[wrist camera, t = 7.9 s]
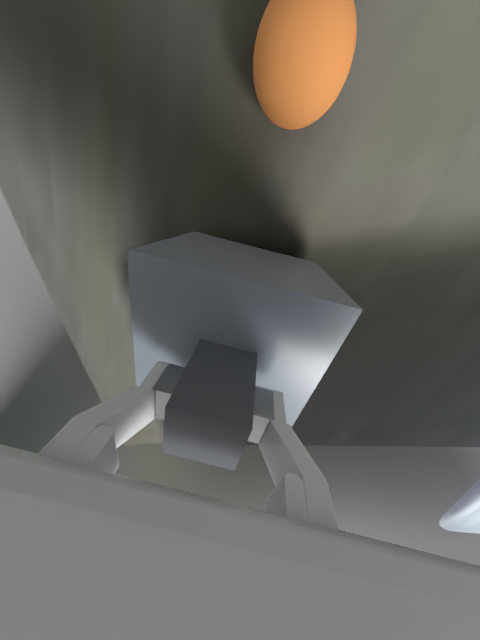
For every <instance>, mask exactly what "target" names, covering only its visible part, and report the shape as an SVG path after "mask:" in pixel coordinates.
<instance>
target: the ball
mask: <svg viewBox="0 0 480 640" xmlns="http://www.w3.org/2000/svg"><path fill="white" fill-rule="evenodd" d="M356 33H357V18H356V9H355V4H354V0H270V2H269V4H268V6H267V8H266V10H265V12H264V15H263V17H262V20H261V22H260V26H259V29H258V32H257V37H256V42H255V47H254V55H253V79H254V86H255V90H256V95H257V98H258V101H259V104H260V106H261V108H262V110H263V111H264V113H265V114H266V116H267V117H268V118H269V119H270V121H271V122H273V123H274V124H275V125H277V126H279V127H281V128H283V129H288V130H296V129H301V128H304V127H307V126H308V125H310V124H312V123H314V122H315V121H317V120H318V119H319V118H320V117H321V116H322V115H324V113H325V112H326V111H327V110H328V109H329V108H330V107H331V105H332V104H333V102H334V101H335V100H336V98H337V96H338V95H339V93H340V91H341V89H342V87H343V85H344V83H345V81H346V78H347V76H348V73H349V70H350V67H351V63H352V60H353V55H354V50H355V44H356Z"/></svg>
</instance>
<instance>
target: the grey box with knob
mask: <svg viewBox="0 0 480 640" xmlns="http://www.w3.org/2000/svg"><path fill="white" fill-rule="evenodd" d="M127 255H128V270H129V285H130V300H131V314H132V329H133V344H134V359H135V374H136V386H140V384H141V383H142V382H143V380H144V379H145V378H146V376H147V375H148V374H149V372H150V371H151V370H152V368H153V367H154V365H155V364H156V363H157V362H158V361H163V362H166V363H171V364H174V365H178V366H181V367H185V370H184V372H183V374H182V375H181V377H180V379H179V381H178V383H177V385H176V387H175V389H174V391H173V393H172V395H171V396H170V398H169V400H168V402H167V404H166V406H165V418H164V441H163V453H166V454H170V455H174V456H178V457H182V458H186V459H190V460H194V461H198V462H202V463H206V464H210V465H213V466H218V467H221V468H225V469H229V470H233V471H234V470H235V468H236V465H237V463H238V461H239V459H240V456H241V454H242V452H243V450H244V447H245V445H246V443H247V441H248V438H249V436H250V434H251V431H252V429H253V414H254V399H255V385H256V386H260V387H265V388H269V389H273V390H277V391H281V392H283V394H284V404H285V414H286V424H288V425H290V426H291V427H292V426H293V424H294V422H295V421H296V419H297V417H298V416H299V414H300V412H301V411H302V409H303V407H304V406H305V404H306V403H307V401H308V399H309V398H310V396H311V394H312V393H313V391H314V389H315V388H316V386H317V384H318V383H319V381H320V379H321V378H322V376H323V375H324V373H325V371H326V370H327V368H328V366H329V365H330V363H331V361H332V360H333V358H334V356H335V355H336V353H337V352H338V350H339V348H340V347H341V345H342V343H343V342H344V340H345V338H346V337H347V335H348V333H349V332H350V330H351V328H352V327H353V325H354V324H355V322H356V320H357V319H358V317H359V315H360V314H361V312H362V310H363V309H362V308H361V307H360V306H359V305H358V304H357V303H356V302H355V301H354V300H353V299H352V298H351V297H350V296H349V295H348V294H347V293H346V292H345V291H344V290H343V289H342V288H341V287H340V286H339V285H338V284H337V283H336V282H335V281H334V280H333V279H332V278H331V277H330V276H329V275H328V274H327V273H326V272H325V271H324V270H323V269H322V268H321V267H320V266H319V265H318V264H317V263H316V262H312V261H308V260H304V259H300V258H296V257H292V256H288V255H284V254H281V253H277V252H273V251H269V250H265V249H261V248H257V247H253V246H249V245H245V244H242V243H238V242H234V241H230V240H226V239H222V238H218V237H214V236H210V235H206V234H203V233H199V232H191V233H187V234H183V235H180V236H176V237H172V238H168V239H165V240H161V241H157V242H153V243H150V244H146V245H142V246H138V247H135V248H131V249H127Z"/></svg>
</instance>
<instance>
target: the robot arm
mask: <svg viewBox="0 0 480 640" xmlns="http://www.w3.org/2000/svg"><path fill="white" fill-rule="evenodd" d="M184 370H185V367H181V366H178V365H174V364H171V363H166V362H163V361H158V362H157V363H156V364H155V365H154V367H153V368H152V370H151V371H150V372H149V374H148V375H147V376H146V378H145V379H144V380H143V382H142V383H141V384H140V386H134V387H132V388H130V389H128V390H126V391H124V392H122V393H120V394H118V395H116V396H114V397H112V398H110V399H108V400H106V401H104V402H102V403H100V404H98V405H96V406H94V407H92V408H90V409H88V410H86V411H84V412H82V413H80V414H78V415H76V416H74V417H73V418H72V419H71V420H70V421H69V422H68V423H67V424H66V425H65V426H64V427H63V428H62V429H61V430H60V431H59V432H58V433H57V435H56V436H55V437H54V438H53V439H52V440H51V441H50V442H49V443H48V444H47V445H46V446H45V447H44V448H43V449H42V450H41V451H40V453H38V454H36V453H32V452H28V451H23V450H20V449H16V448H12V447H8V446H4V445H0V640H480V566H479V565H475V564H471V563H467V562H463V561H460V560H456V559H451V558H448V557H444V556H440V555H435V554H432V553H428V552H424V551H420V550H416V549H412V548H408V547H404V546H400V545H396V544H392V543H388V542H384V541H380V540H376V539H372V538H369V537H364V536H360V535H357V534H353V533H349V532H345V531H341V530H338V528H337V523H336V519H335V514H334V510H333V505H332V501H331V496H330V492H329V487H328V483H327V481H326V479H325V477H324V476H323V475H322V473H321V472H320V470H319V468H318V467H317V465H316V464H315V462H314V461H313V459H312V458H311V456H310V455H309V454H308V452H307V450H306V449H305V447H304V446H303V444H302V443H301V441H300V440H299V438H298V437H297V435H296V434H295V432H294V431H293V429H292V428H291V426H290V425H288V424H286V414H285V404H284V394H283V392H281V391H277V390H273V389H269V388H265V387H260V386H256V385H255V399H254V414H253V429H252V431H251V434H250V436H249V438H248V441H251V442H254V443H258V444H259V447H260V450H261V452H262V455H263V457H264V460H265V462H266V465H267V467H268V469H269V472H270V474H271V476H272V479H273V481H274V484H275V487H276V488H275V489H274V491H273V492H272V493H271V495H270V496H269V497H268V499H267V500H266V501H265V511H262V510H258V509H254V508H249V507H246V506H242V505H238V504H234V503H230V502H226V501H221V500H218V499H214V498H210V497H206V496H202V495H198V494H194V493H190V492H186V491H182V490H179V489H174V488H170V487H167V486H163V485H159V484H155V483H151V482H147V481H143V480H139V479H135V478H131V477H127V476H123V475H119V474H115V472H116V470H117V468H118V467H119V461H118V455H117V450H116V448H118V447H119V446H120V445H121V444H123V443H124V442H125V441H127V440H128V439H129V438H130V437H132V436H133V435H134V434H136V433H137V432H138V431H139V430H141V429H142V428H143V427H145V426H146V425H147V424H148V423H150V422H151V421H152V420H154V419H155V418H159V419H164V418H165V406H166V404H167V402H168V400H169V398H170V396H171V395H172V393H173V391H174V389H175V387H176V385H177V383H178V381H179V379H180V377H181V375H182V374H183V372H184Z"/></svg>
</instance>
